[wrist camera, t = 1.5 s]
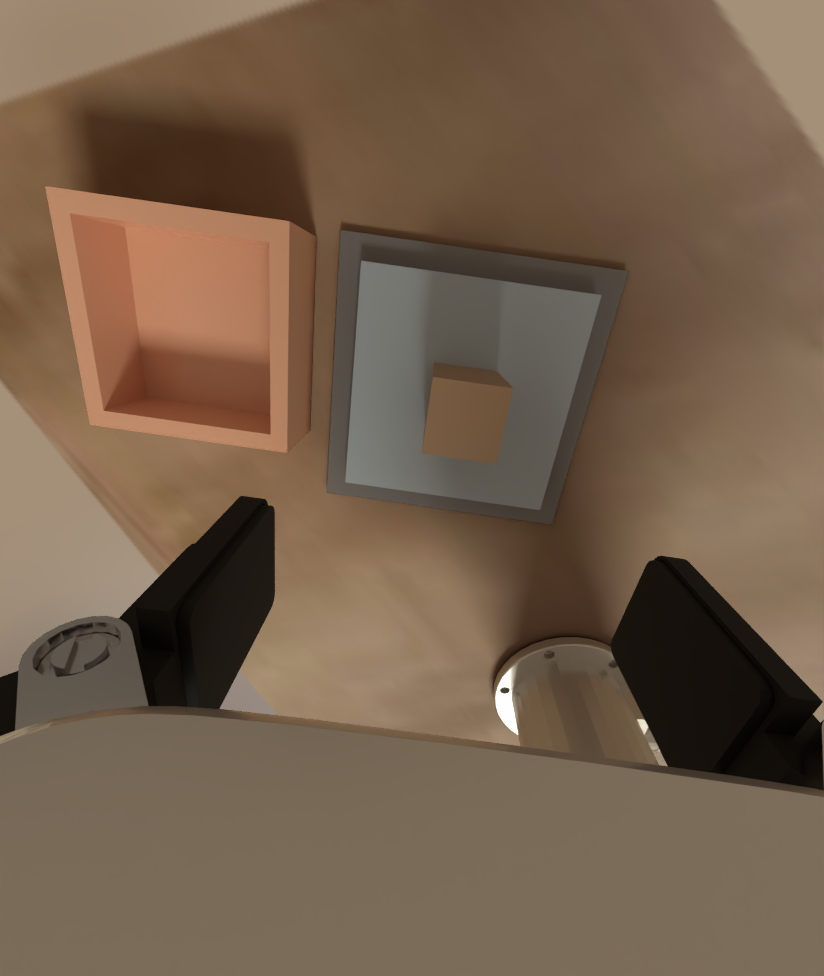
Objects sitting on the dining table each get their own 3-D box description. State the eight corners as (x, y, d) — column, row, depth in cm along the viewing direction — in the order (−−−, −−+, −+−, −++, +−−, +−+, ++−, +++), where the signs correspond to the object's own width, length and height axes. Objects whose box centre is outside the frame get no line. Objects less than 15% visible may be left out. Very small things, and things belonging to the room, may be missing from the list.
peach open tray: (316, 237, 25) (289, 221, 20) (310, 430, 30) (287, 452, 25) (117, 208, 25) (45, 186, 20) (143, 406, 30) (90, 424, 25)
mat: (626, 271, 25) (628, 271, 24) (550, 522, 31) (551, 524, 31) (342, 231, 25) (340, 229, 24) (328, 490, 31) (326, 492, 31)
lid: (595, 295, 25) (650, 291, 18) (536, 504, 31) (563, 556, 24) (364, 262, 25) (338, 246, 18) (348, 477, 31) (324, 522, 24)
